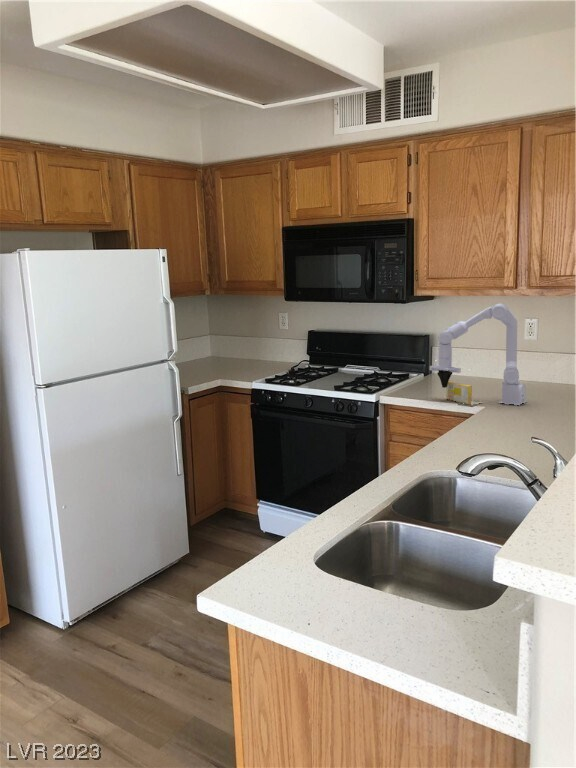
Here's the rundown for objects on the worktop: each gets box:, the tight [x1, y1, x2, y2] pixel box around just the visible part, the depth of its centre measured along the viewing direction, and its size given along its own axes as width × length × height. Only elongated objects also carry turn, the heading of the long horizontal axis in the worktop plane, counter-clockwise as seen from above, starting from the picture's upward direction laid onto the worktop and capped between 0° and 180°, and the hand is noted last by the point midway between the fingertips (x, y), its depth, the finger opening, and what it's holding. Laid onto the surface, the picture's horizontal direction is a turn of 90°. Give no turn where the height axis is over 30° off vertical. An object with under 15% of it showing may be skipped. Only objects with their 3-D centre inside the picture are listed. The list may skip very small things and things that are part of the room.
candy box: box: [445, 381, 473, 405], centre depth 274 cm, size 16×2×8 cm, turn 22°
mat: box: [457, 402, 478, 408], centre depth 271 cm, size 7×10×1 cm
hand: (444, 387), depth 279 cm, fingers closed
